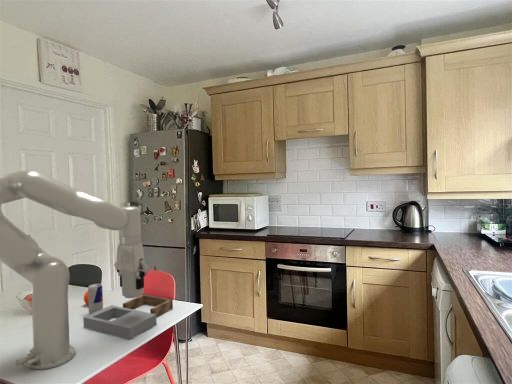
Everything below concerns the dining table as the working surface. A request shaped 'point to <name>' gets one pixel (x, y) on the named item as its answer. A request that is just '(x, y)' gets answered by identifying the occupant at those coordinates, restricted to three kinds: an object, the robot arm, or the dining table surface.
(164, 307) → the cubby
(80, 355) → the dining table surface
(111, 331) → the hole board
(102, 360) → the dining table surface
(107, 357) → the dining table surface
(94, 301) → the energy drink
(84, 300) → the clementine
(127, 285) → the can
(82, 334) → the dining table surface
